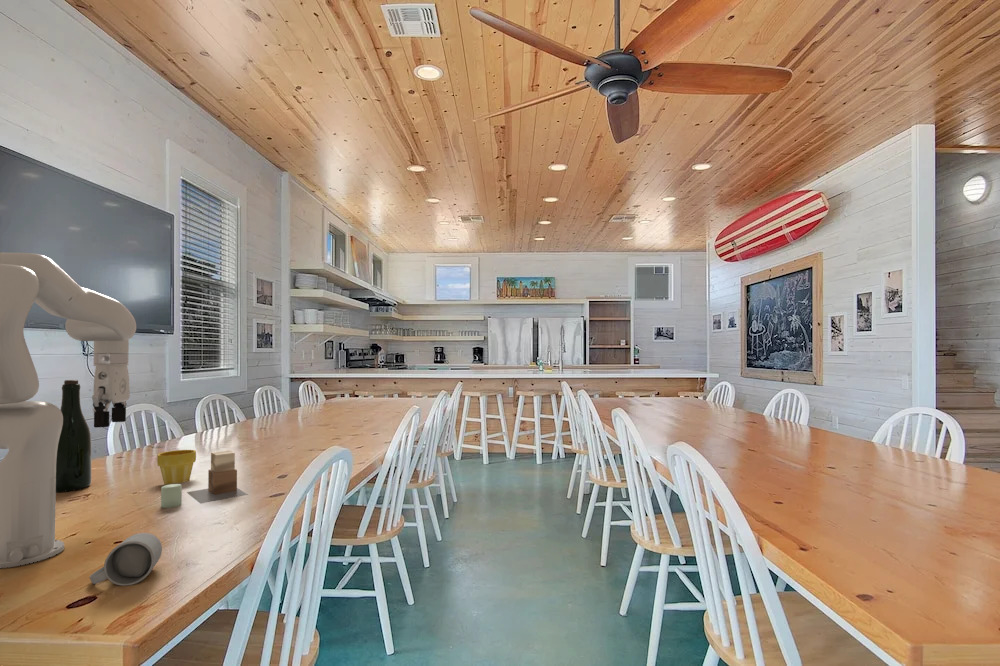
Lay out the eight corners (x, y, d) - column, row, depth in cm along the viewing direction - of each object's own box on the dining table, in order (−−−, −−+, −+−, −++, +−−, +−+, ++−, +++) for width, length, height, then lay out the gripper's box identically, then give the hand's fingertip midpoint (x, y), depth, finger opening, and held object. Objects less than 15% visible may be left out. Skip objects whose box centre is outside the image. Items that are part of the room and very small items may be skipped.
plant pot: (159, 481, 167) (160, 450, 168) (197, 478, 172) (197, 448, 172) (154, 489, 158) (154, 457, 158) (193, 485, 162) (194, 453, 163)
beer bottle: (46, 487, 161) (48, 379, 162) (90, 481, 168) (91, 378, 168) (46, 495, 153) (48, 381, 154) (92, 488, 160) (94, 379, 161)
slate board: (247, 498, 148) (247, 494, 148) (200, 507, 140) (200, 503, 140) (231, 487, 159) (231, 484, 159) (186, 495, 151) (186, 492, 151)
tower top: (234, 469, 153) (234, 452, 153) (215, 472, 149) (215, 455, 149) (229, 467, 156) (229, 450, 157) (210, 469, 153) (211, 452, 153)
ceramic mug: (164, 564, 103) (164, 525, 103) (153, 582, 95) (153, 539, 95) (98, 574, 99) (98, 533, 99) (82, 593, 91) (82, 548, 92)
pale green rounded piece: (183, 509, 139) (183, 486, 139) (162, 512, 136) (163, 489, 136) (179, 505, 142) (179, 483, 142) (159, 509, 139) (159, 486, 139)
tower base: (236, 490, 153) (237, 469, 153) (214, 494, 148) (214, 473, 149) (230, 486, 157) (230, 466, 157) (208, 490, 153) (208, 469, 153)
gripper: (112, 360, 133) (111, 428, 133) (140, 359, 150) (139, 419, 150) (77, 361, 131) (76, 430, 131) (110, 359, 148) (109, 420, 148)
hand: (110, 424), depth 140 cm, fingers open, 9 cm apart
